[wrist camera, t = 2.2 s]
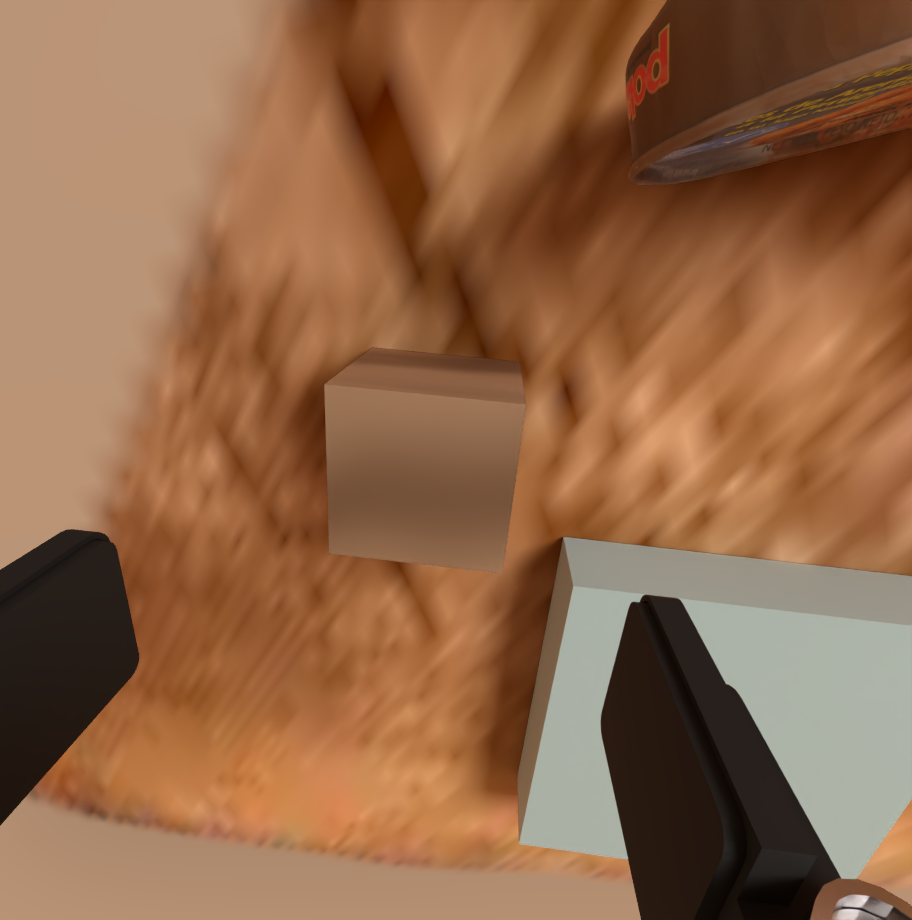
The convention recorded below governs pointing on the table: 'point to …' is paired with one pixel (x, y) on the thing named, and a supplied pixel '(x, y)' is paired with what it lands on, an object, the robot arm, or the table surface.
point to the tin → (764, 83)
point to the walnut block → (423, 458)
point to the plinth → (745, 669)
